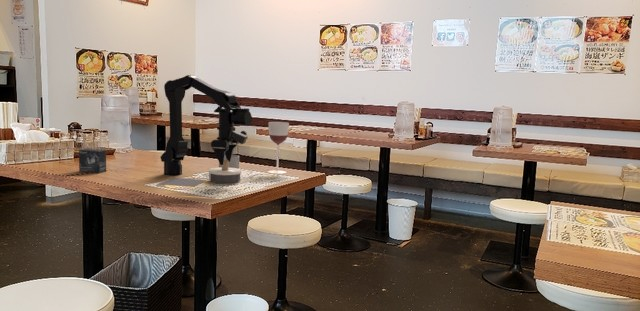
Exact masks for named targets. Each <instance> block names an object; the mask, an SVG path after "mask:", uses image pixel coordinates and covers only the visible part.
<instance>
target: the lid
mask: <svg viewBox="0 0 640 311" xmlns="http://www.w3.org/2000/svg"><path fill="white" fill-rule="evenodd" d="M207 173H208V174H209V173H210V174H214V175H237V174H240V173H241V174H242V169H241V168H239V169H238V168H229V167H228V160H224V163H223V165H222V167H219V166H218V167H211V168H208V170H207ZM241 174H240V175H241Z"/></svg>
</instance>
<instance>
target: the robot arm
mask: <svg viewBox="0 0 640 311" xmlns="http://www.w3.org/2000/svg"><path fill="white" fill-rule="evenodd" d="M163 87H164V95H165V97H166V99H167V101H168V104H169V105H168V106H169V107H168V108H169V111H168V112H169V113H168V114H169V138H168V140H167V142H166V146H165V147H166V148H165V151H164V152H163V153H162V154H161V155H160V160H161V163H163V174H162V176H171V177H173V176H174V177H175V176H176V177H177V176H180V175H183V174H184V173H183V164H182V161H184V160H185V159H184V158H185V156H186V155H187V152H188V151H189V148H188V144H189V143H188V142H189V141H188V140H185V139H184V137H183V117H182V115H183V114H182V113H183V112H182V110H183V109H182V107H183V104H182V102H183V100H184V98H185V96H186V91H188V90H190V89H191V88H193V89H195V90H197V91H198V92H200V93H202V94H204V95H206V96H207V97H209V98H211V99H212V101H213V103H215V104H216V105H217V108H215V109H214V110H213V112H214V113H218V126H217V127H216V129H217V130H218V136H217V137H216V138H215V139H213V140H211V141H210V147H211V149H212V150H213V153H215V154H214V155H215V156H216V158H217V160H218V161H217V162H218V164H219V163H220V165H223V163H224V157H225V155H226V159H227V160H228V162H230V160H231V157H232V155H233V152H234V149H235V148H236V147H237V146H239V144H241V145H243V144H246V142H247V140H248V138H249V137H248V136H249V135H248V133H247V131H245V130H241V131H237V130H236V127H235V126H241V127H242V126H244V127H248V126H250V125H251V124H252V122H253V116H252V114H251V112H250V108H248V107H247V108H241V106H240V103H239V102H238V101H237V98H236V95H235V94H234V93H232V92H230V91H227V90H223V89H219V88H217V87H215V86H213V85H211V84H209V83H208V82H206V81H204V80H202V79H201V78H198V76H196V75H193V74H192V75H191V74H186V75H185V76H183V77H179V78H176V79H173V80H172V79H171V80H167V81H166V82H165V83H164V86H163Z"/></svg>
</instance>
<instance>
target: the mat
mask: <svg viewBox="0 0 640 311" xmlns="http://www.w3.org/2000/svg"><path fill="white" fill-rule="evenodd" d="M206 181H208V179H199V178H198V179H196V178H195V179H194V178H181V177H173V178H170V179H168V180H165V181H163V182H160V183H159V185H162V186H163V185H165V186H175V187H176V186H178V187H180V186H181V187H193V188H195V187H196V186H199V185H201V184H202V183H205V182H206Z"/></svg>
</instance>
